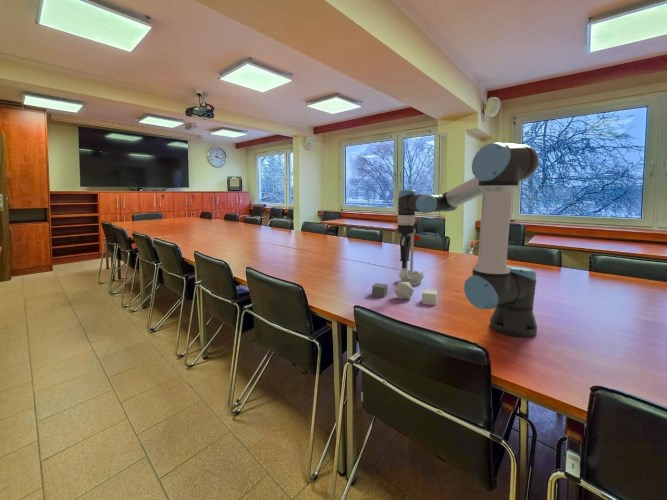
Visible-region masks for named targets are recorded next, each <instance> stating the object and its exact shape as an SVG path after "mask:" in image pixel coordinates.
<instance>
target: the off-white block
mask: <svg viewBox="0 0 667 500" xmlns="http://www.w3.org/2000/svg"><path fill="white" fill-rule="evenodd" d="M438 292H439V291H438V290H434V289H426V288H425V289H424V290H423V291H422V294H421V296H422V297H421V304H424V305H425V304H426V305H433V306H436V305H437V302H438V294H439V293H438Z"/></svg>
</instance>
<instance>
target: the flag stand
mask: <svg viewBox="0 0 667 500" xmlns="http://www.w3.org/2000/svg"><path fill="white" fill-rule="evenodd" d="M410 237H411V240H410V256H409V259H410V261H409V262H410V263H409V269H408V275H401V271H399V274H398V275H399V277H398V278H400V282H409V283H410V284H411V286H419V285H421V284H422V280H423V279H424V278H425V277H424V272H423V271H422V272H419V271H418V270H414V251H415V250H414V249H415V248H414V247H415V246H414V244H415V243H416V242H418V241H419V240H422V239H423V237H421V236H419V235H417V234H416V229H415V228H414V233H411V234H410Z"/></svg>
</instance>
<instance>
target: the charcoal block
mask: <svg viewBox="0 0 667 500" xmlns="http://www.w3.org/2000/svg"><path fill="white" fill-rule="evenodd" d="M371 287H372V290H371V291H372V292H371V293H372V297H377V298H385V297H386V296H387V295H388V284H387V283H377V282H376V283H374V284H373V285H372V286H371Z"/></svg>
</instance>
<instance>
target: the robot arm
mask: <svg viewBox="0 0 667 500" xmlns="http://www.w3.org/2000/svg"><path fill="white" fill-rule="evenodd" d="M538 166H539V155H538V153H537V152H536V149H534V148H533V147H531V146H530V145H528V144H522V143H510V142H503V141H501V142H489V143H487V144H484V145H483V146H482V147H481V148H479V150H478V151H477V152H476V153H475V155H474V157H473V159H472V162H471V172H472V175H474V177H473V178H471V179H469V180H466V181H465V182H463V183H461V184H459V185H457V186H455V187H453V188H452V189H449V190H448V191H446V192H443V193H435V194H429V193H426V194H425V193H423V194H417V193H416V190H414V189H400V190H399V191H398V198H397V216H396V219H397V231H396V232H397V233H398V234H401V237H400V240H399V247H400V248H399V249H400V260H399V262H401V267H400V268H401V269H400V272H401V275H408V270H409V262H410V252H411V233H414V229H415V221H416V213H422V214H429V213H434V212H435V213H437V212H447V213H448V212H451V211H452V212H453V211H455V210H457V208H458V207H459V206H461V205H464V204H466V203H467V202H469V201H472V200H475V199H476V198H479V197H481V196H482V199H481V200H482V201H481V202H482V203H481V215H480V227H479V228H480V229H479V240H478V241H479V242H478V244H479V245H478V257H477V263H476V264H474V265H473V266H472V271H471V276H469V277H468V278H467V279H465V282H464V284H463V292H464V295H465V296H466V297H465V298H466V299H467V300H469V303H470V304H471V305H472V306H473V307H475V308H477V309H480V310H493V309H494V310H493V312H492V315H491V317H490V318H489V327H490V328H491V329H492V330H494V331H496V332H498V333H500V334H503V335H507V336H510V337H511V336H512V337H520V338H527V337H529V338H530V337H533V336H535V335H536V334H537V331H538V325H537V322H536V317H535V314H534V304H535V303H534V301H535V294H536V284H537V272H536V270H533V269H531V268H528V267H523V266H517V265H516V266H515V265H508V264H507V259H508V246H509V235H510V223H511V213H512V212H511V210H512V201H513V198H512V197H513V192H514V191H515V190H516V189H517V188H518V187H519V183H520V182H523V181H525V180H526V179H530V177H531V176H532V175H533V174H534V173H535V172H536V171H537V168H538ZM414 234H415V233H414Z"/></svg>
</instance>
